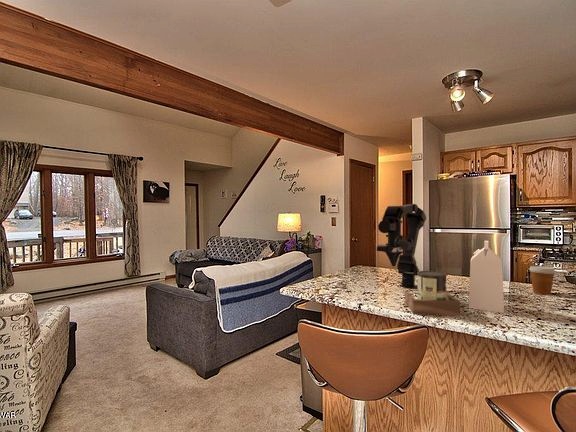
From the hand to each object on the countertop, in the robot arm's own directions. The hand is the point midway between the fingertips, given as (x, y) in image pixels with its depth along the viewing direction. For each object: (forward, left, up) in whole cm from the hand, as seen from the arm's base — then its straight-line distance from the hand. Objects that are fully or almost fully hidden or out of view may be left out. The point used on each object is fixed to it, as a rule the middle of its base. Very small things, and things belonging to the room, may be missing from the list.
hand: (393, 266), depth 150 cm
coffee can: (+10, +24, -12) cm, 29 cm away
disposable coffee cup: (-52, +42, -12) cm, 68 cm away
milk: (-10, +35, -12) cm, 39 cm away
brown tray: (+10, +23, -12) cm, 28 cm away
